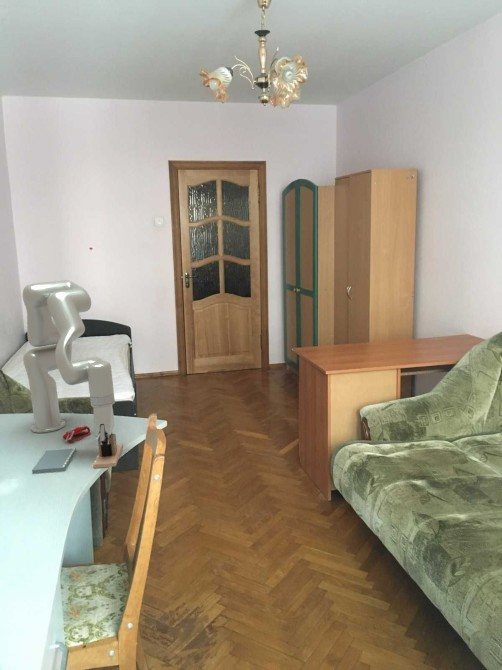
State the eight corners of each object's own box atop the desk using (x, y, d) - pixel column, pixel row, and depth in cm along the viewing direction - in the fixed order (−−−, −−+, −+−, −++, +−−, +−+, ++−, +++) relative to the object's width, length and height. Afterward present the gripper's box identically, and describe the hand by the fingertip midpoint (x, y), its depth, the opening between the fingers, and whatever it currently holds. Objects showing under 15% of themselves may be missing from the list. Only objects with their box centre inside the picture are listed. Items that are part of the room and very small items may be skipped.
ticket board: (46, 453, 188) (46, 450, 188) (76, 451, 189) (76, 447, 189) (32, 473, 173) (31, 469, 172) (65, 470, 173) (64, 466, 173)
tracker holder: (58, 433, 205) (84, 421, 210) (63, 444, 206) (89, 432, 210) (63, 435, 194) (90, 423, 199) (68, 447, 195) (95, 434, 199)
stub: (102, 448, 190) (100, 428, 188) (123, 447, 190) (121, 427, 189) (93, 468, 174) (90, 446, 173) (115, 466, 174) (113, 444, 173)
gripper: (95, 393, 186) (101, 444, 190) (85, 408, 170) (91, 464, 173) (118, 391, 187) (123, 442, 190) (109, 406, 170) (116, 462, 174)
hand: (108, 452), depth 182 cm, fingers closed on stub, 4 cm apart
